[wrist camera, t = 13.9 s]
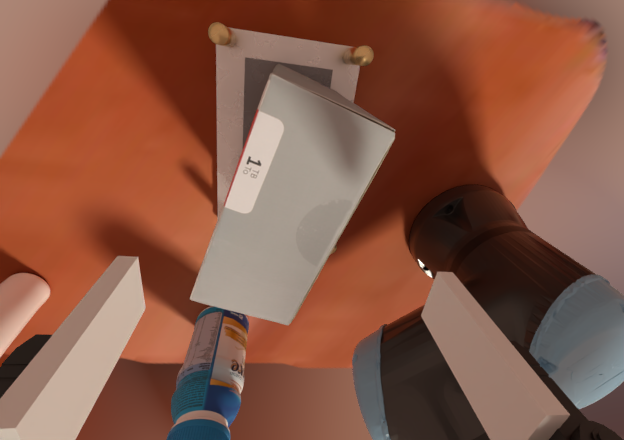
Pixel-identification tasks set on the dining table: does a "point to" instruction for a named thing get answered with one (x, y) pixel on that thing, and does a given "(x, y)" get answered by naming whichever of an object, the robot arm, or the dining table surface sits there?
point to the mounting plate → (253, 78)
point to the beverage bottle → (210, 377)
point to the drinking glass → (19, 304)
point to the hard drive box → (289, 197)
